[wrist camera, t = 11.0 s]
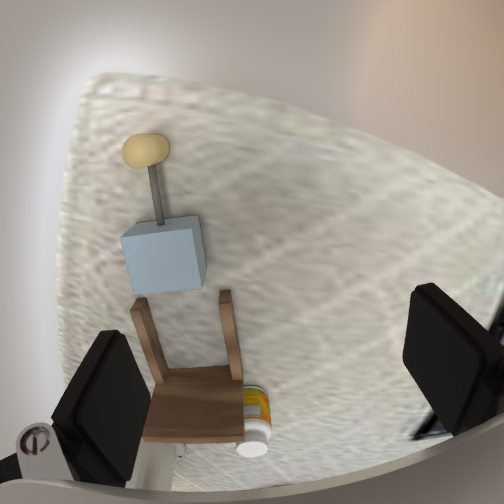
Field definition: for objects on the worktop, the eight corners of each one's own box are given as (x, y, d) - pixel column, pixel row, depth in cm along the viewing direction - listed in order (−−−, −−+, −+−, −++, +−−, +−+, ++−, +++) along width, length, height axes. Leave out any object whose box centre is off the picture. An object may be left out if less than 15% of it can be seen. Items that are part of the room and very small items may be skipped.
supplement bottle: (267, 408, 43) (272, 459, 34) (231, 408, 43) (231, 460, 34) (269, 384, 41) (275, 437, 32) (230, 384, 41) (229, 438, 32)
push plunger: (206, 267, 34) (201, 292, 29) (147, 274, 34) (132, 298, 29) (186, 128, 29) (175, 126, 24) (122, 141, 29) (99, 143, 24)
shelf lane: (243, 370, 40) (245, 441, 29) (162, 375, 40) (144, 442, 29) (230, 290, 36) (227, 357, 25) (137, 298, 36) (102, 361, 25)
